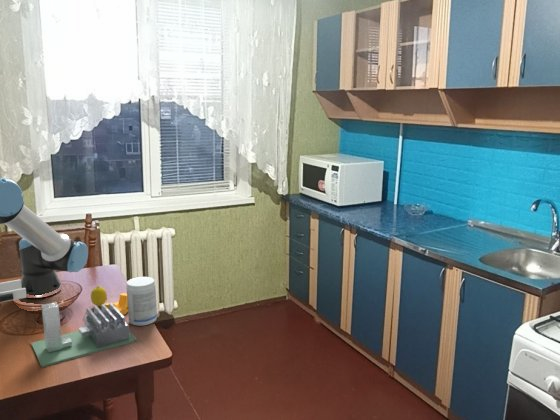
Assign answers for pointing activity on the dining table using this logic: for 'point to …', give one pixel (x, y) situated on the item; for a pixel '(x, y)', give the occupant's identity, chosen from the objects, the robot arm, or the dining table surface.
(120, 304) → the pipe clamp
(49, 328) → the white upright block
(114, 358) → the dining table surface
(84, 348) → the board
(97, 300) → the lemon
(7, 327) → the dining table surface
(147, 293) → the supplement tub
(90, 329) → the heatsink
